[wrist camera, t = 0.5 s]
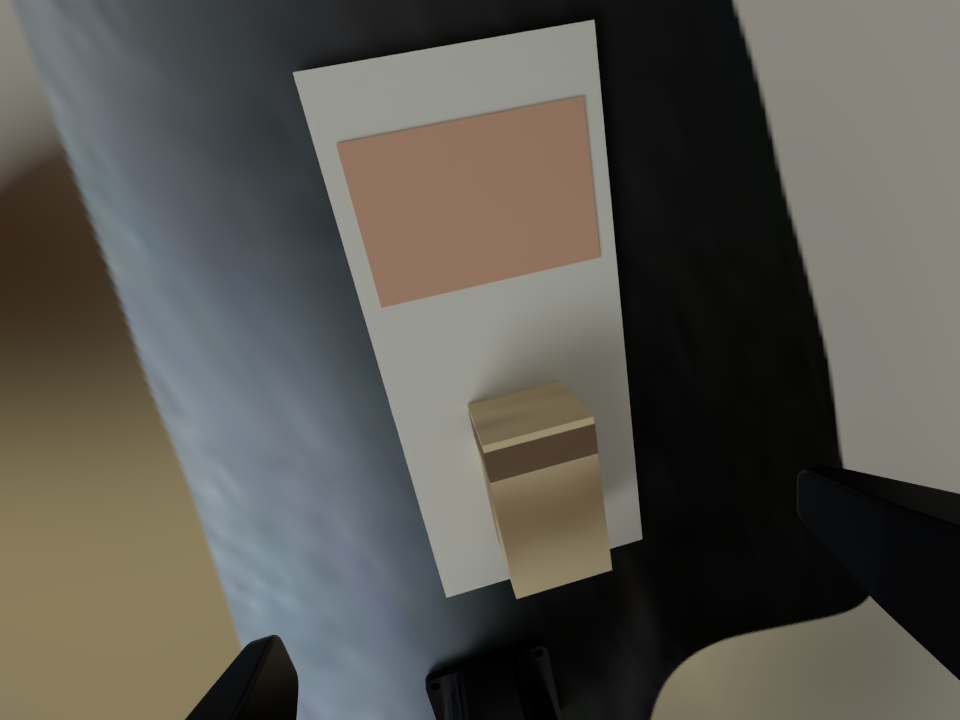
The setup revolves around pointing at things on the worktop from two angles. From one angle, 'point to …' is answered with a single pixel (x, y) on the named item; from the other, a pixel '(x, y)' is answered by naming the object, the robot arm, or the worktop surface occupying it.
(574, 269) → the grey mat
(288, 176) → the worktop surface
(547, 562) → the two-tone wooden box
